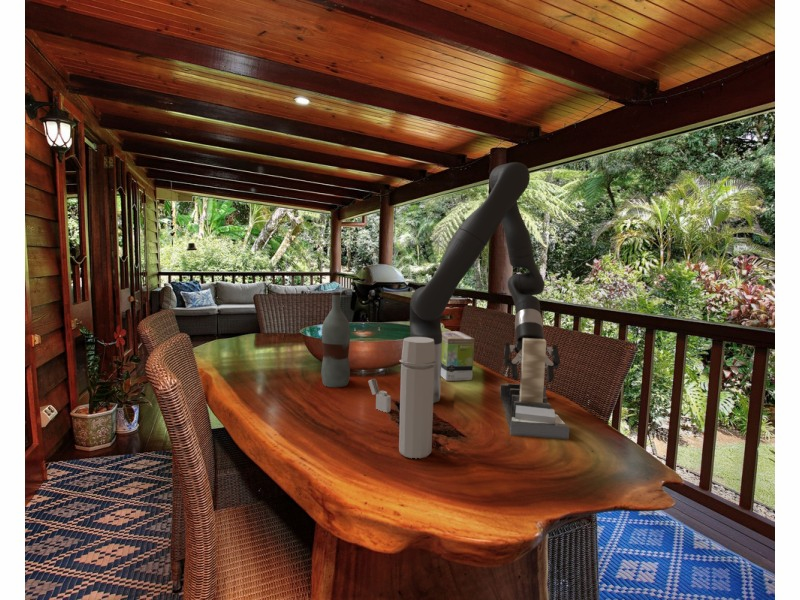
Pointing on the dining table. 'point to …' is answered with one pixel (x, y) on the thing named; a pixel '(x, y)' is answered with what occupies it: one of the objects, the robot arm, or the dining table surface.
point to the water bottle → (416, 397)
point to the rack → (516, 428)
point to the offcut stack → (536, 415)
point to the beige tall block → (532, 370)
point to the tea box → (457, 356)
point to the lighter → (380, 397)
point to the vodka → (335, 346)
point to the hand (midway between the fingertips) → (532, 380)
